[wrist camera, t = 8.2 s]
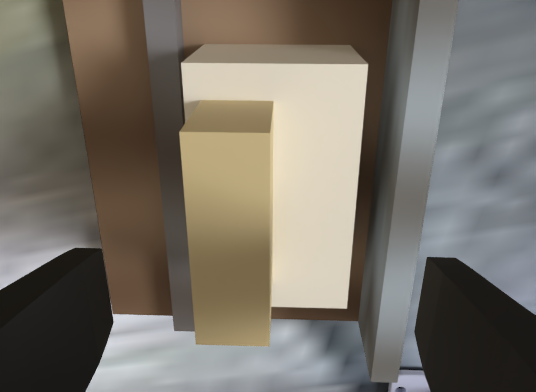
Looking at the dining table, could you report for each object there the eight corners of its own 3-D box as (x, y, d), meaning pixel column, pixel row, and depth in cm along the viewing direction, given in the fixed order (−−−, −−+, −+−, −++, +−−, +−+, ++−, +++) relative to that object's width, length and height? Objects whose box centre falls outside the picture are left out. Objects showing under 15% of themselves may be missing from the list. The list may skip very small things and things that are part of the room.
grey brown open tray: (377, 307, 22) (397, 382, 18) (120, 300, 22) (82, 372, 18) (423, -61, 16) (470, -74, 12) (65, -62, 16) (-10, -76, 12)
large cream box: (336, 247, 20) (359, 376, 13) (215, 244, 20) (180, 371, 13) (349, 44, 16) (390, 87, 10) (204, 44, 16) (152, 85, 10)
